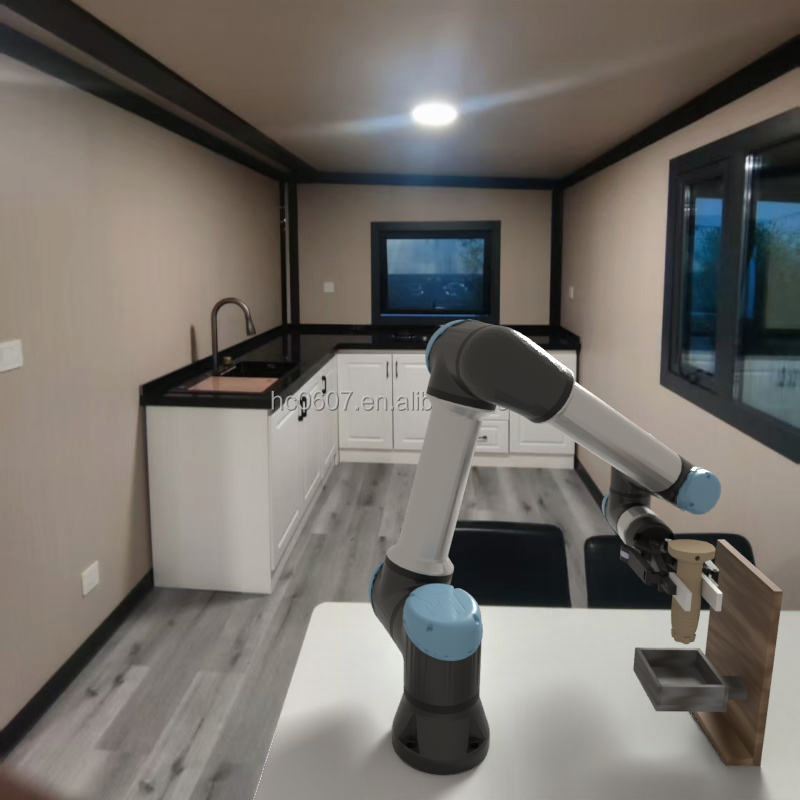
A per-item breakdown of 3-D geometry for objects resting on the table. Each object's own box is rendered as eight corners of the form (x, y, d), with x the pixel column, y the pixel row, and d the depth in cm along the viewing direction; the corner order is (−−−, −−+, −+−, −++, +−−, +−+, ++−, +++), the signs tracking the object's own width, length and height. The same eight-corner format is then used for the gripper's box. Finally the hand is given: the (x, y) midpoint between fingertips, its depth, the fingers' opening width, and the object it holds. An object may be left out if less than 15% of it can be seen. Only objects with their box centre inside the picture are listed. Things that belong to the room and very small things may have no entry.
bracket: (651, 765, 102) (666, 590, 96) (614, 690, 120) (626, 538, 114) (760, 766, 102) (783, 591, 96) (708, 690, 120) (724, 539, 114)
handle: (711, 648, 101) (721, 553, 98) (666, 648, 101) (675, 552, 98) (698, 631, 106) (707, 539, 103) (655, 630, 106) (663, 539, 103)
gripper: (692, 556, 120) (760, 627, 97) (596, 555, 120) (642, 626, 97) (696, 515, 118) (766, 577, 96) (599, 514, 119) (646, 577, 96)
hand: (703, 602), depth 96 cm, fingers closed on handle, 4 cm apart
